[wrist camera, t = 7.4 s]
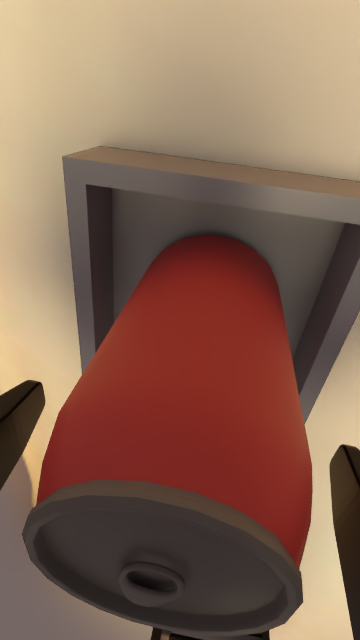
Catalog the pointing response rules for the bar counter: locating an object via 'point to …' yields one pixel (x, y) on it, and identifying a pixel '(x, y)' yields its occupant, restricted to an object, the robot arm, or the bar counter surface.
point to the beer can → (183, 455)
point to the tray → (221, 220)
